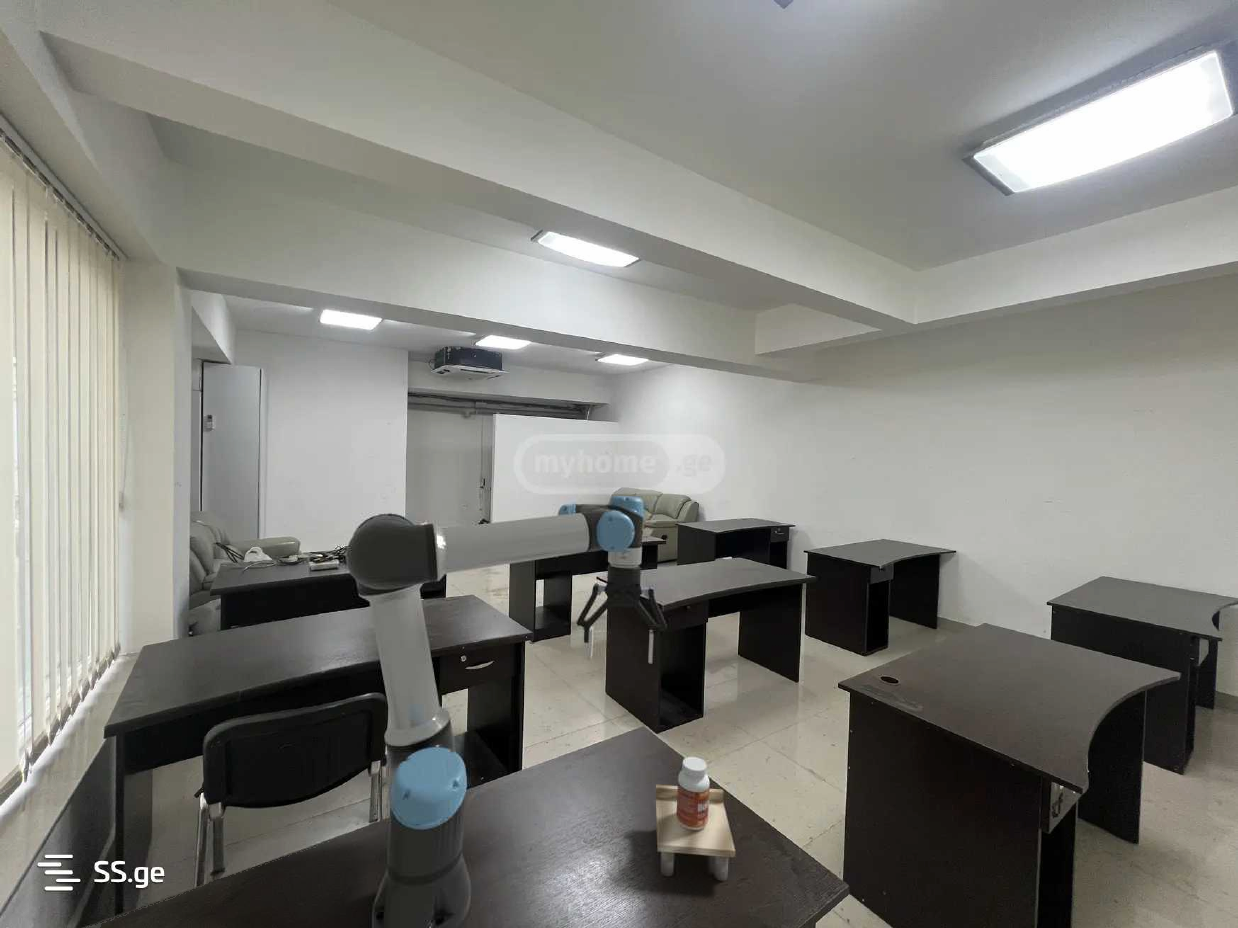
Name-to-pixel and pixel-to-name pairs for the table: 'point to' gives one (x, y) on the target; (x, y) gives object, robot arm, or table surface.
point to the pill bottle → (693, 794)
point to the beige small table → (692, 832)
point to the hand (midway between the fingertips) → (620, 659)
